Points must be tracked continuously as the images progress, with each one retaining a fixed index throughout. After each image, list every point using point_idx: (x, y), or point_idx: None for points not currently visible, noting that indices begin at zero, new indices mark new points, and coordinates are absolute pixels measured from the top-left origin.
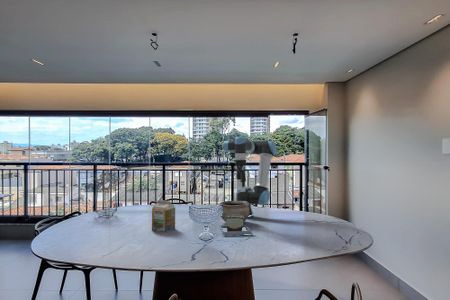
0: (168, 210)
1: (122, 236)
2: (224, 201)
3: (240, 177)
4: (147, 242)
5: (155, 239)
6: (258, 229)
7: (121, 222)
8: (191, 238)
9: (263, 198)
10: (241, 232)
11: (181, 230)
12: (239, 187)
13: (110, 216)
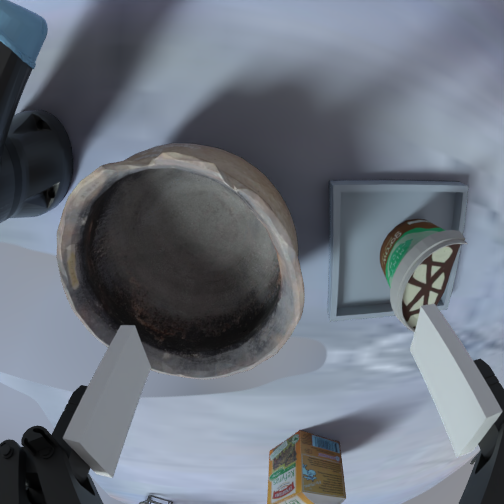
0: (332, 493)
1: (348, 481)
2: (102, 339)
3: (75, 487)
4: (413, 446)
5: (397, 442)
6: (358, 110)
7: (213, 494)
8: (424, 384)
9: (34, 20)
10: (461, 233)
11: (321, 417)
12: (135, 355)
13: (161, 499)
